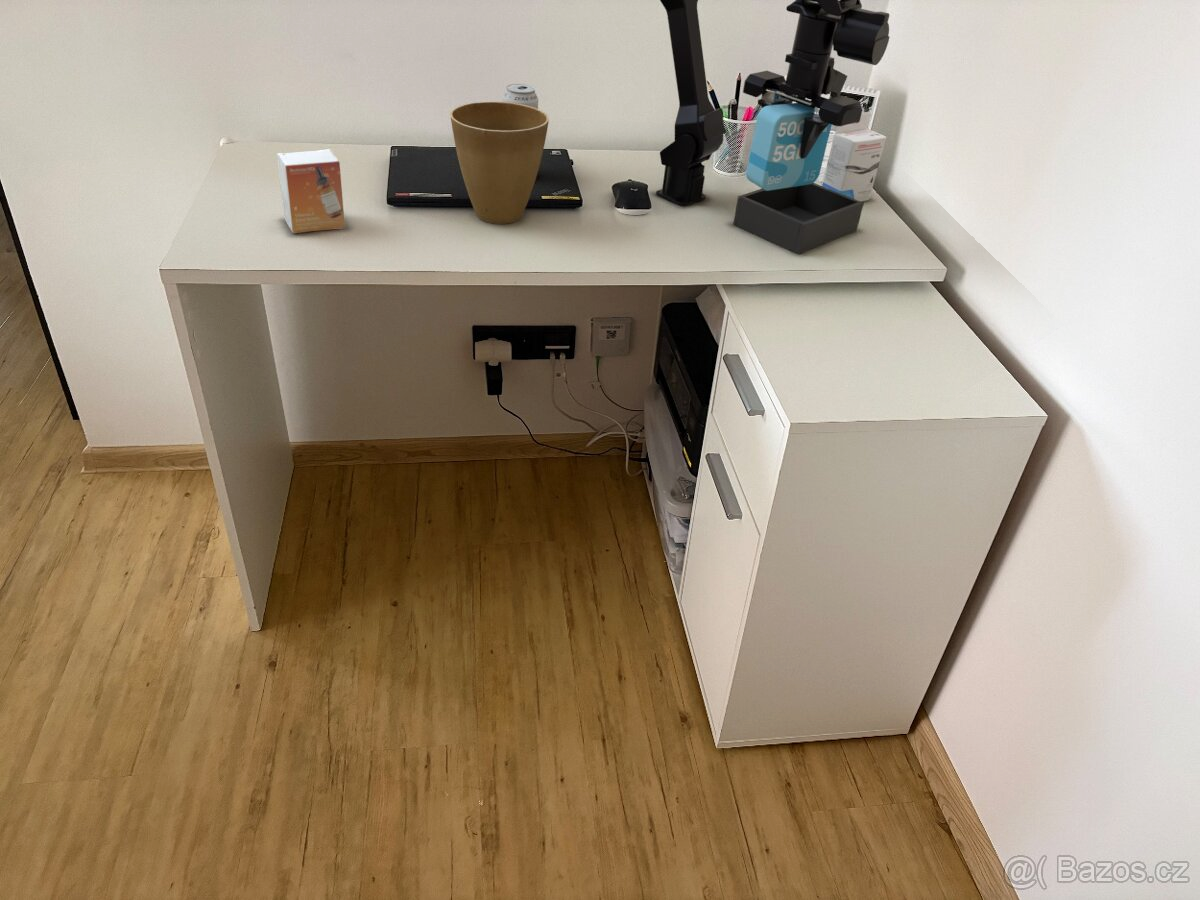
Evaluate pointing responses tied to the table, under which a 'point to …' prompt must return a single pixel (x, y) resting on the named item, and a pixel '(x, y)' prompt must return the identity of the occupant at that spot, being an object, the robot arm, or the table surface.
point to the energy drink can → (521, 95)
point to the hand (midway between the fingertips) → (789, 152)
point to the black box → (798, 216)
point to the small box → (311, 190)
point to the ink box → (854, 159)
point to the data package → (784, 148)
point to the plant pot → (499, 156)
